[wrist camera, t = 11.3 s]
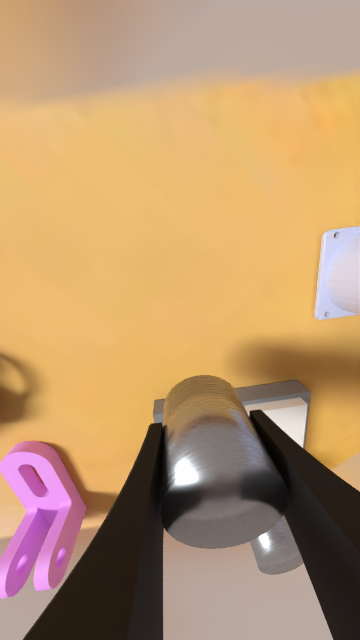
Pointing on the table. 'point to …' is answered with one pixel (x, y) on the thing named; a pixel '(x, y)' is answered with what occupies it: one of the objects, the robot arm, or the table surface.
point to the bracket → (40, 518)
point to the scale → (271, 406)
